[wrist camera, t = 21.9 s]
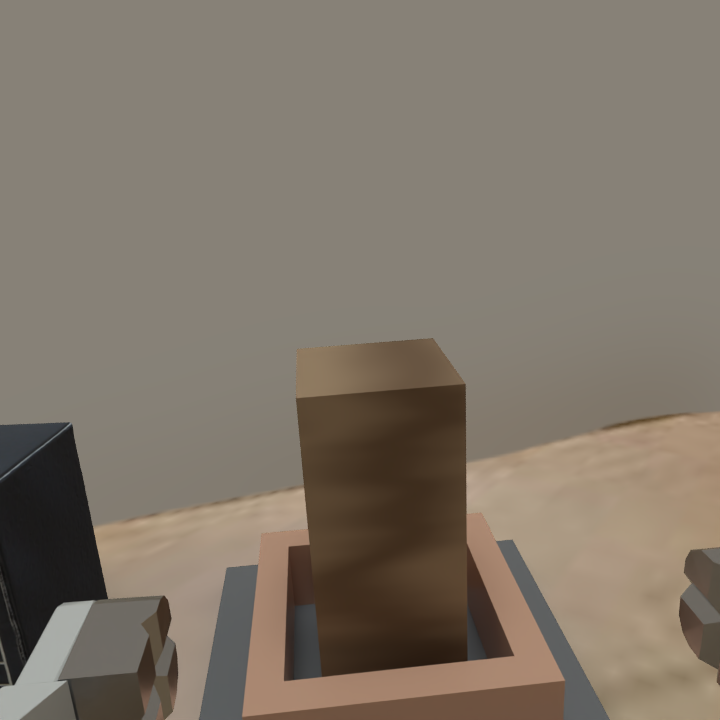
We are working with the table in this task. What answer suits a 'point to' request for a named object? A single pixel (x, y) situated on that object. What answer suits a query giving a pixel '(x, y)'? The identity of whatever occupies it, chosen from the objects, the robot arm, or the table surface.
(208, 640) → the table surface
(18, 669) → the small box
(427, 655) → the walnut block
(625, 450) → the table surface
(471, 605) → the dock
